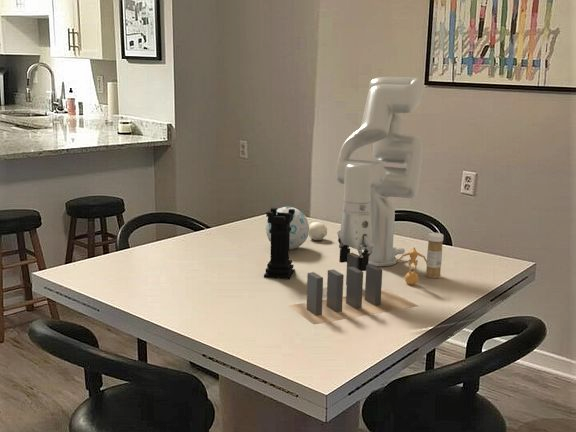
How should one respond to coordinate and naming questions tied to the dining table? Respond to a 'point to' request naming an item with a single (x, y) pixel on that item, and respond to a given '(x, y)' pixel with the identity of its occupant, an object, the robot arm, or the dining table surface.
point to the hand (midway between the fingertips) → (353, 266)
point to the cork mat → (387, 304)
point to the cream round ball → (317, 231)
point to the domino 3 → (352, 261)
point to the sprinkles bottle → (434, 255)
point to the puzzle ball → (294, 228)
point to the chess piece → (280, 245)
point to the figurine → (410, 277)
